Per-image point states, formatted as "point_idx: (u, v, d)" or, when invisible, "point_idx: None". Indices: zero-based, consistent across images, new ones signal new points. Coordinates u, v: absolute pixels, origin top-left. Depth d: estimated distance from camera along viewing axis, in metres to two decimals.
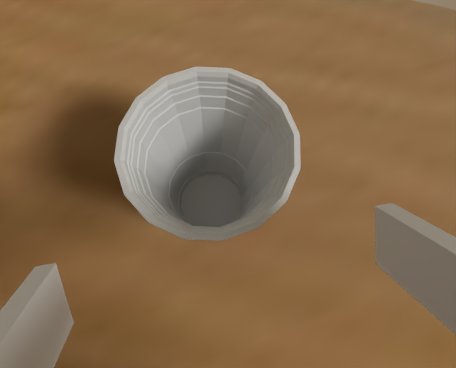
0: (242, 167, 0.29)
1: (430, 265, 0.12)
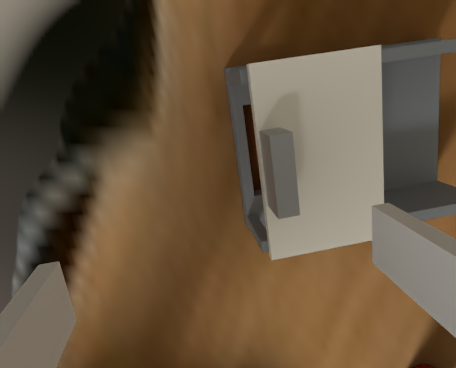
0: None
1: (426, 265, 0.12)
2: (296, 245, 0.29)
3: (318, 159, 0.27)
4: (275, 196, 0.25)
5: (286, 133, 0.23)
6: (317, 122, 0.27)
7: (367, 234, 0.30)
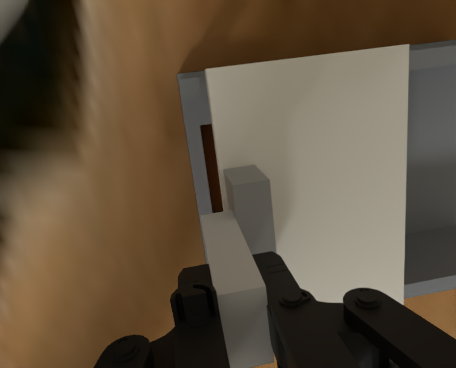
0: None
1: None
2: None
3: (311, 210, 0.19)
4: None
5: (260, 181, 0.15)
6: (310, 157, 0.18)
7: None
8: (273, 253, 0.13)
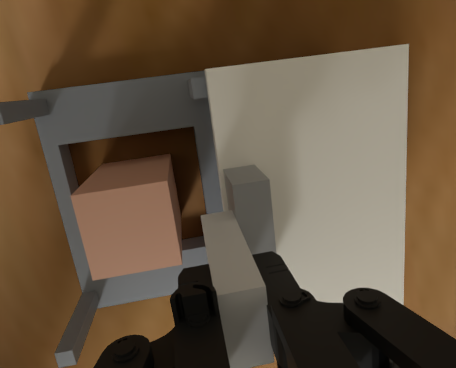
0: None
1: None
2: None
3: (311, 210, 0.19)
4: None
5: (259, 181, 0.15)
6: (310, 156, 0.18)
7: None
8: (273, 253, 0.13)
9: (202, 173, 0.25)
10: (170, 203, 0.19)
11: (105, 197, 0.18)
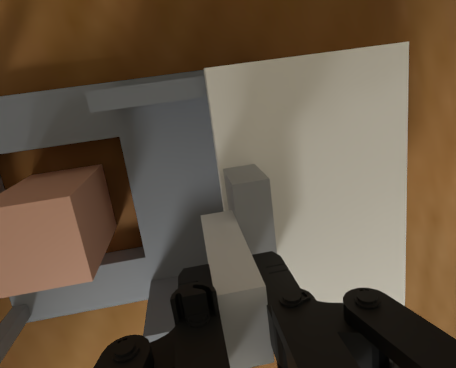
0: None
1: None
2: None
3: (312, 209, 0.19)
4: None
5: (259, 181, 0.15)
6: (310, 155, 0.18)
7: None
8: (273, 253, 0.13)
9: (131, 184, 0.24)
10: (75, 219, 0.18)
11: (4, 213, 0.18)
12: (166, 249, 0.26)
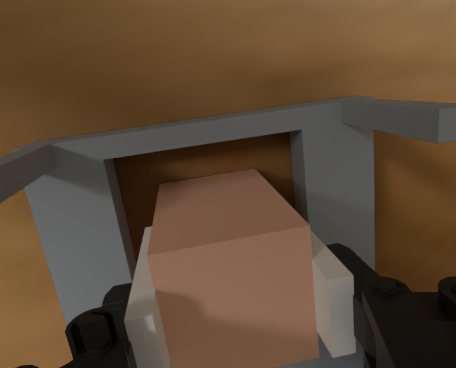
0: None
1: None
2: None
3: None
4: None
5: None
6: None
7: None
8: (340, 245, 0.13)
9: None
10: (283, 363, 0.12)
11: (302, 276, 0.11)
12: None
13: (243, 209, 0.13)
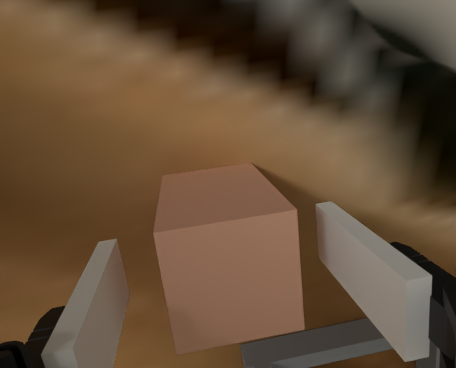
0: None
1: (352, 257, 0.13)
2: None
3: None
4: None
5: None
6: None
7: None
8: (399, 244, 0.13)
9: None
10: (271, 334, 0.14)
11: (289, 255, 0.13)
12: None
13: (238, 196, 0.14)
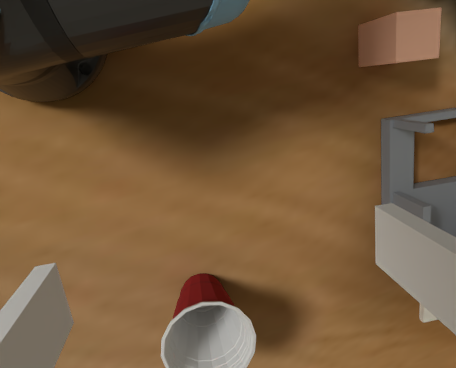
0: (184, 318, 0.47)
1: (430, 265, 0.12)
2: None
3: None
4: None
5: None
6: None
7: (428, 311, 0.45)
8: None
9: (450, 183, 0.49)
10: (427, 58, 0.38)
11: (437, 25, 0.37)
12: (415, 199, 0.49)
13: None
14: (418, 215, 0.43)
